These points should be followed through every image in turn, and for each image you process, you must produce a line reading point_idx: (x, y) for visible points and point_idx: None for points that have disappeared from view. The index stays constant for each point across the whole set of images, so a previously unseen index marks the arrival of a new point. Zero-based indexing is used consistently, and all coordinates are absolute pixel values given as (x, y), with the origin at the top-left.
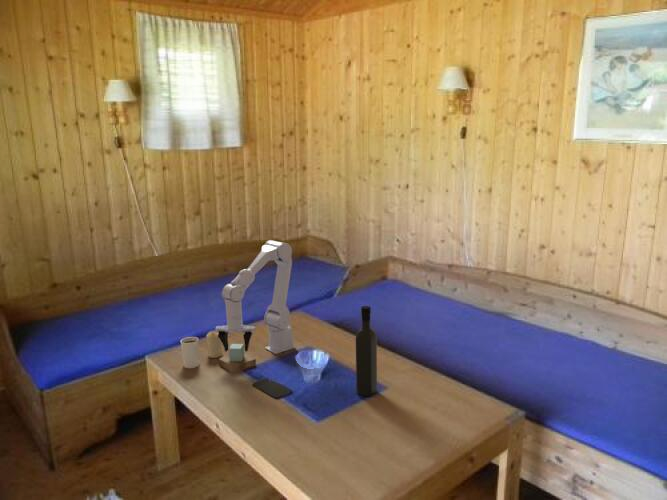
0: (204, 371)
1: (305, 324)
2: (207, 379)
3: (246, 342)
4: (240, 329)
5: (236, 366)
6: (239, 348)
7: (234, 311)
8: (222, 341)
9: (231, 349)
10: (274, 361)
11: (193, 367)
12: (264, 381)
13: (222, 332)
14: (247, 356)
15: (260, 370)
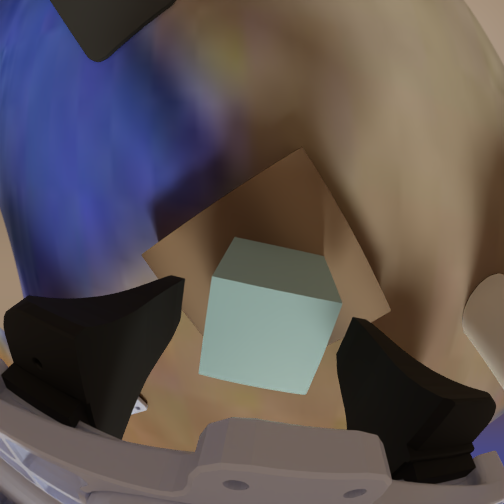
0: (456, 216)
1: None
2: (438, 104)
3: (119, 300)
4: (73, 469)
5: (271, 166)
6: (226, 283)
7: None
8: (420, 368)
9: (314, 292)
10: (78, 268)
11: (490, 276)
12: (113, 23)
13: (438, 468)
14: (199, 306)
15: (128, 163)
